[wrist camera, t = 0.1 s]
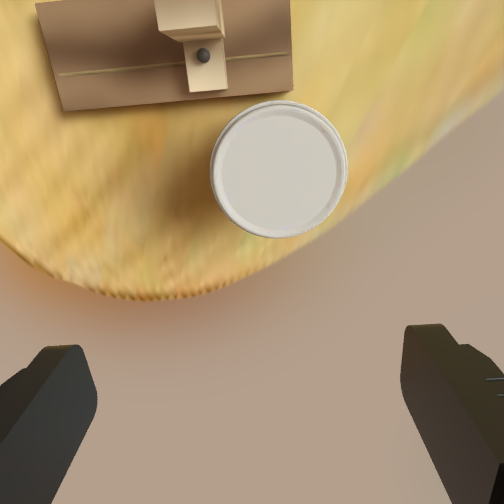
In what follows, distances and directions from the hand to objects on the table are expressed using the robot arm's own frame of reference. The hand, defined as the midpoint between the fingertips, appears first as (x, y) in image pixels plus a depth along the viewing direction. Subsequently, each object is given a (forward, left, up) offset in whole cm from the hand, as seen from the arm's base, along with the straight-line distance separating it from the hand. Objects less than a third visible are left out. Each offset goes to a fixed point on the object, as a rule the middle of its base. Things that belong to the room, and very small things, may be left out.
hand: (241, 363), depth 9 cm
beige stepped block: (-11, -3, -29) cm, 31 cm away
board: (-10, -6, -29) cm, 31 cm away
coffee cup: (-1, +2, -29) cm, 29 cm away
